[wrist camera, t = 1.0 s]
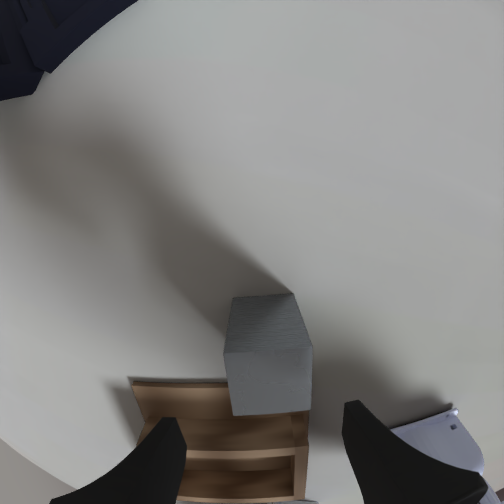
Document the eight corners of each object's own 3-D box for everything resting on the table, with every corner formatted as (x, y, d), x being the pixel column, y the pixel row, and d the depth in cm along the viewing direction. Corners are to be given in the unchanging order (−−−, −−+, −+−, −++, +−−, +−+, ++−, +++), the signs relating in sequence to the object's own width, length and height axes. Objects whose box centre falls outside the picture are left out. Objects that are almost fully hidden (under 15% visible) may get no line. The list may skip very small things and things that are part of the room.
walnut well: (308, 376, 21) (318, 412, 17) (303, 483, 24) (307, 512, 20) (133, 381, 21) (115, 413, 17) (177, 484, 25) (171, 512, 21)
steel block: (293, 293, 20) (312, 346, 13) (294, 345, 20) (310, 409, 14) (232, 297, 20) (223, 353, 13) (238, 349, 21) (233, 415, 14)
